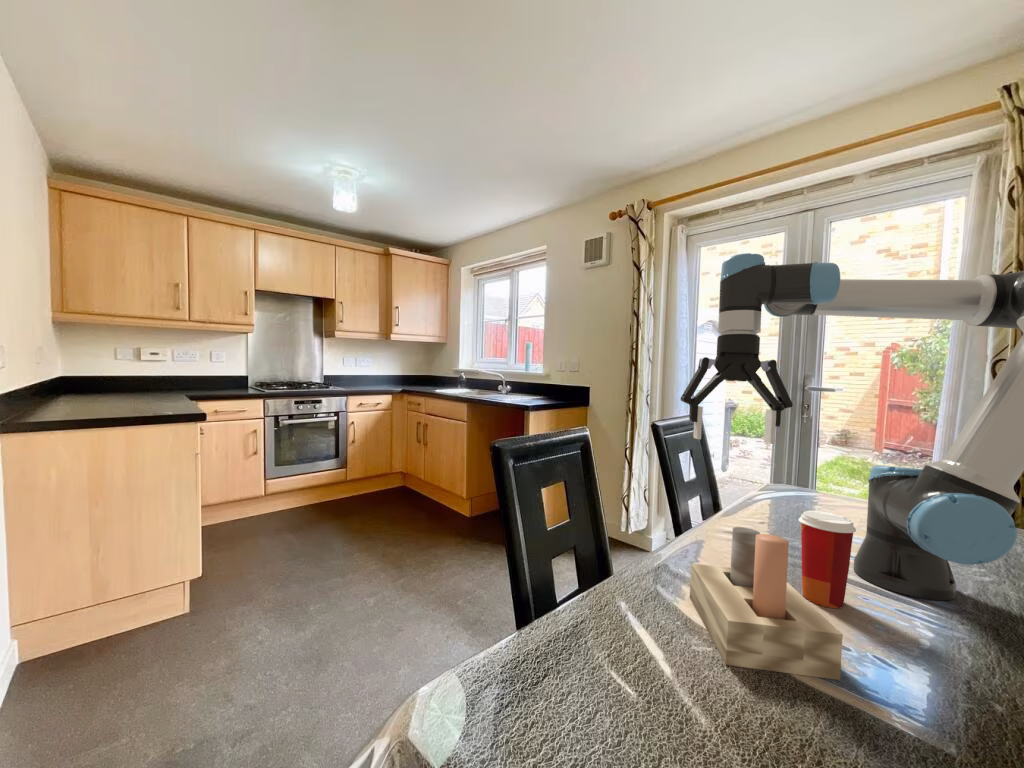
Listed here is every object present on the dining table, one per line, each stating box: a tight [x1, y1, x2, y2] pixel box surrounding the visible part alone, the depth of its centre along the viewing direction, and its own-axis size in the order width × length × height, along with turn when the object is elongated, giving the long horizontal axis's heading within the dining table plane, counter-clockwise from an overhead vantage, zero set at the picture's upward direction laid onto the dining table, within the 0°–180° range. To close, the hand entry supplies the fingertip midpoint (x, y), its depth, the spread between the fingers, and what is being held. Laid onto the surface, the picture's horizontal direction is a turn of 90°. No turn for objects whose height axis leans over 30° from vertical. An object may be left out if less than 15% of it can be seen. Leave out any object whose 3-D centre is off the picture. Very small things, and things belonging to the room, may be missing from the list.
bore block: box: [689, 526, 843, 681], centre depth 65 cm, size 14×18×14 cm
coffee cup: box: [798, 510, 857, 609], centre depth 76 cm, size 8×8×15 cm
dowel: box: [752, 533, 789, 620], centre depth 61 cm, size 4×4×14 cm
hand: (732, 440), depth 85 cm, fingers open, 13 cm apart
